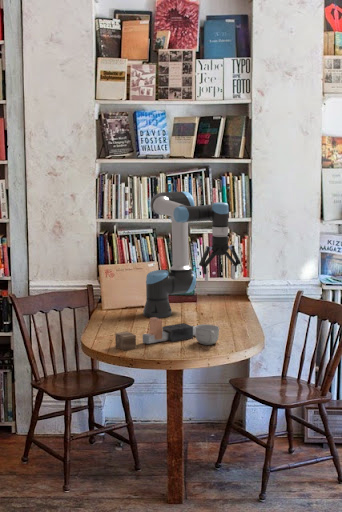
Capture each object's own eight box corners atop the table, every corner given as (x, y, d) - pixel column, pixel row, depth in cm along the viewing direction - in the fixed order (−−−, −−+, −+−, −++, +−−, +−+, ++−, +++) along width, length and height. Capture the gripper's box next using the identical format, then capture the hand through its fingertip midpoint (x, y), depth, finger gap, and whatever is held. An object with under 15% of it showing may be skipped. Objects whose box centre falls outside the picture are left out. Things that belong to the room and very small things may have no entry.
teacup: (194, 340, 344) (194, 323, 343) (217, 339, 345) (217, 323, 344) (197, 348, 331) (198, 331, 329) (222, 348, 332) (222, 330, 330)
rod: (141, 341, 341) (141, 319, 339) (191, 332, 356) (191, 311, 354) (148, 344, 336) (148, 322, 334) (198, 335, 351) (198, 313, 349)
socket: (115, 346, 335) (115, 333, 334) (127, 344, 338) (126, 331, 337) (124, 350, 328) (124, 337, 327) (135, 348, 331) (135, 335, 330)
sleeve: (162, 338, 348) (162, 326, 347) (183, 334, 354) (183, 323, 354) (171, 342, 342) (171, 330, 341) (192, 338, 348) (192, 326, 347)
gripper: (197, 237, 341) (197, 283, 344) (247, 235, 348) (247, 279, 352) (192, 235, 348) (192, 280, 351) (241, 233, 355) (240, 276, 359)
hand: (219, 280), depth 352 cm, fingers open, 13 cm apart
